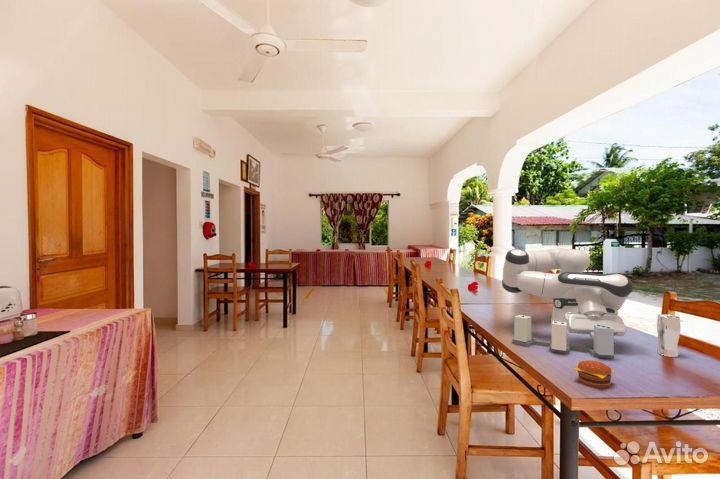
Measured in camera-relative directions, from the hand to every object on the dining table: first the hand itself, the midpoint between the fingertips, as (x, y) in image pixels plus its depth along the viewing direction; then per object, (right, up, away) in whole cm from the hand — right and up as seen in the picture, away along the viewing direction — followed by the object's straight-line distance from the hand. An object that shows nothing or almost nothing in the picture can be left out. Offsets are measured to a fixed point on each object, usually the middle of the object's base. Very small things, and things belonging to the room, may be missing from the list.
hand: (599, 343), depth 142 cm
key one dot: (-24, -2, +14) cm, 28 cm away
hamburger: (-18, -6, -25) cm, 31 cm away
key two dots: (-14, -3, +3) cm, 15 cm away
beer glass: (+26, -4, -1) cm, 27 cm away
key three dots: (-1, -3, -3) cm, 4 cm away
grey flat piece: (-11, -4, +8) cm, 14 cm away
